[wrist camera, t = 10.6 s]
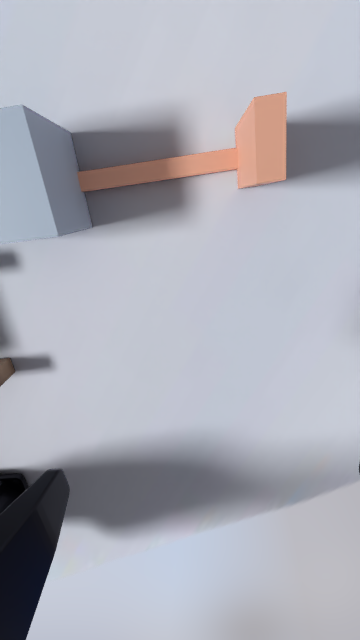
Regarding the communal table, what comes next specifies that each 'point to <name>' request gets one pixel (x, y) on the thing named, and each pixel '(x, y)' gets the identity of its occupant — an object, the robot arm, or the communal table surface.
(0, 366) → the lane rack
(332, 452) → the communal table surface
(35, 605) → the robot arm
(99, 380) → the communal table surface
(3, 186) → the wooden bar with block
